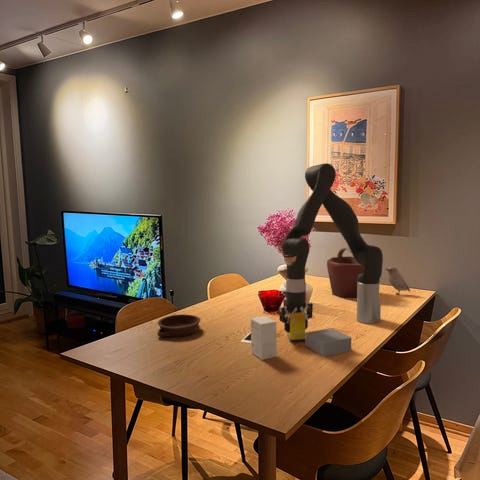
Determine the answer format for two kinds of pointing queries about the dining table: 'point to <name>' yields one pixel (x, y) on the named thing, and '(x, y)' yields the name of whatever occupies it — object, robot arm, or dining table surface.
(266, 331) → the small box
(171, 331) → the dish
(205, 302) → the dining table surface
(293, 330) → the supplement box
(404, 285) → the bird
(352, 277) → the bucket
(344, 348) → the base block
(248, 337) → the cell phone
